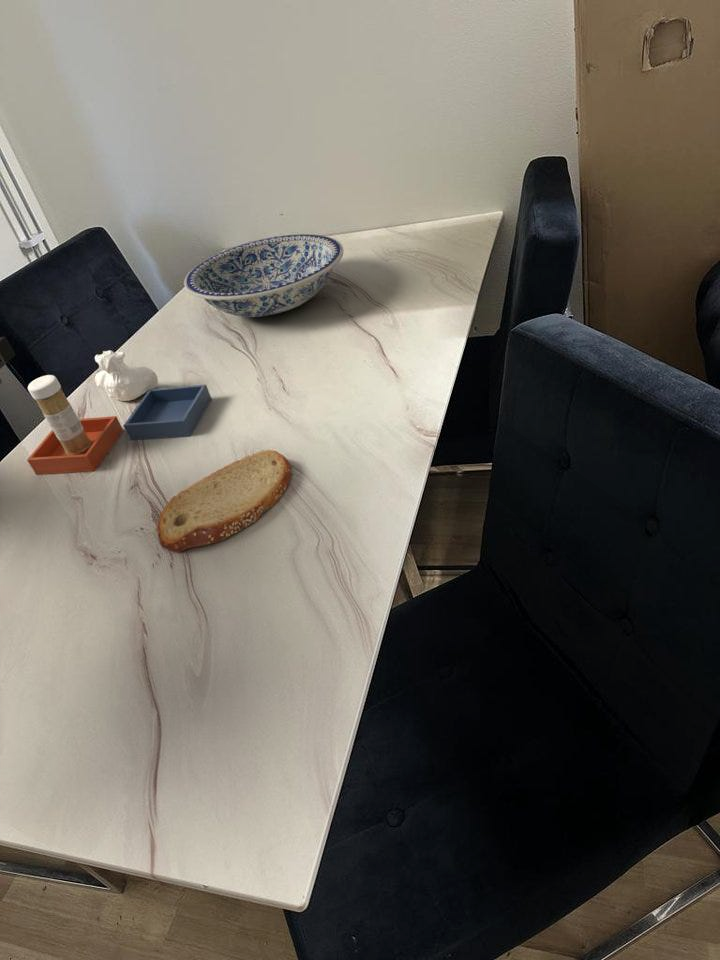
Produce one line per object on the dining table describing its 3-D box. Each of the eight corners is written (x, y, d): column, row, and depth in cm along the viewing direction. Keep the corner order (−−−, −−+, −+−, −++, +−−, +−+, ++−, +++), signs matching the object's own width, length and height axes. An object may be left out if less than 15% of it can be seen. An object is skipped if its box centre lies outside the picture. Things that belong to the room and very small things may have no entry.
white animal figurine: (108, 409, 128) (71, 389, 117) (110, 372, 130) (74, 349, 119) (165, 403, 125) (132, 382, 115) (166, 365, 127) (134, 341, 116)
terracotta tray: (35, 474, 110) (26, 459, 108) (68, 434, 119) (60, 420, 117) (95, 471, 108) (86, 456, 106) (123, 430, 116) (116, 415, 114)
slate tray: (130, 440, 113) (123, 425, 111) (155, 403, 121) (149, 389, 119) (190, 436, 110) (184, 421, 108) (211, 399, 119) (206, 384, 117)
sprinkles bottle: (82, 438, 115) (45, 371, 107) (97, 444, 113) (61, 376, 104) (60, 453, 113) (21, 386, 104) (75, 460, 110) (36, 391, 102)
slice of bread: (294, 455, 100) (288, 435, 98) (284, 538, 86) (276, 517, 84) (181, 473, 102) (172, 454, 100) (153, 557, 88) (142, 537, 86)
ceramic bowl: (383, 283, 144) (375, 237, 138) (266, 357, 127) (251, 309, 121) (282, 263, 165) (271, 223, 159) (170, 324, 149) (153, 282, 142)
